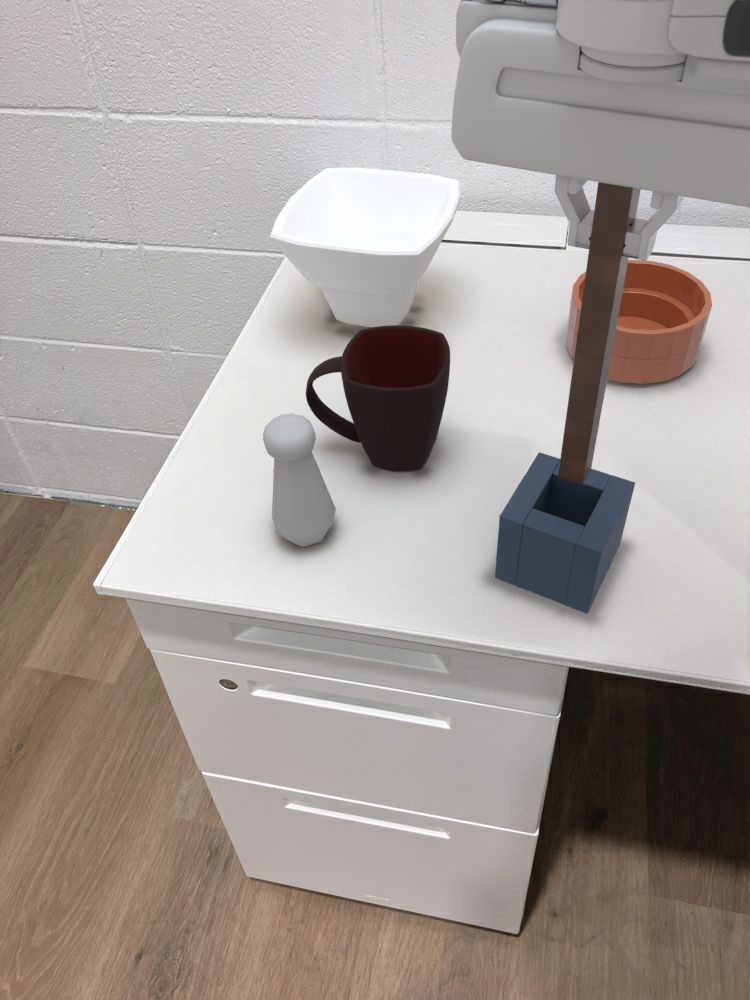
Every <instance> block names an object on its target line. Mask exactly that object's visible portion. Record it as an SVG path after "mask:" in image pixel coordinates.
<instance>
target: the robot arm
mask: <svg viewBox="0 0 750 1000" xmlns="http://www.w3.org/2000/svg"><path fill="white" fill-rule="evenodd" d="M455 15H456V16H455V45H456V49H457V50H456V51H457V53H458V56H459V63H458V69H457V74H456V81H455V88H454V94H453V102H452V104H453V105H452V114H451V115H452V118H451V132H450V133H451V135H450V136H451V142H452V144H453V146H454V147H455V149H456V151H457V152H458V154H459V156H460V157H461V158H462V159H463V160H466V161H469V162H470V161H471V162H477V163H483V164H489V165H494V166H500V167H507V168H511V169H517V170H522V171H523V170H525V171H529V172H536V173H542V174H548V175H553V176H555V180H554V181H555V182H554V194H555V196H556V198H557V200H558V202H559V204H560V206H561V208H562V211H563V213H564V215H565V218H566V219H567V221H569V225H568V226H569V227H568V236H567V246H569V247H573V248H579V249H584V250H589V246H590V239H591V232H592V225H593V217H594V210H595V209H591V207H590V204H589V201H588V199H587V196H586V192H585V191H584V188H583V187H584V186H585V185H586V183H587V182H588V181H590V182H595V183H598V182H601V183H607V184H613V185H619V186H625V187H631V188H636V189H641V191H642V190H643V191H649V192H652V193H651V199H650V204H649V207H650V208H651V209H653V210H655V211H654V212H653V214H652V215H651V216H649V218H648V219H643V218H637V217H636V218H635V219H634V221H633V222H632V224H631V226H630V227H629V228H628V230H627V231H626V235H625V241H624V244H625V246H624V248H623V252H622V256H624V257H629V258H628V259H633V260H644V261H648V259H649V258H650V256H651V254H652V252H653V250H654V247H655V244H656V239H657V234H658V231H659V230H660V229H661V228H662V226H664V225H665V224H666V222H667V221H668V220H669V219H670V218H671V217H672V216H673V215H674V214H675V212H676V211H677V209H678V207H679V206H680V205H681V203H682V201H683V200H684V198H690V199H696V200H703V201H709V202H714V203H721V204H725V205H732V206H738V207H744V208H748V209H749V208H750V0H460V2H459V4H458V6H457V9H456V14H455Z"/></svg>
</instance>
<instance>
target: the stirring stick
mask: <svg viewBox="0 0 750 1000" xmlns="http://www.w3.org/2000/svg"><path fill="white" fill-rule="evenodd" d="M641 191H642V189H636V188H631V187H625V186H619V185H613V184H607V183H601V182H597V188H596V197H595V203H594V209H593V210H594V217H593V225H592V232H591V239H590V246H589V249H588V255H587V261H586V268H585V272H586V276H585V283H584V290H583V298H582V305H581V312H580V319H579V327H578V334H577V341H576V349H575V356H574V359H573V363H572V364H573V365H572V372H571V378H570V386H569V393H568V399H567V407H566V415H565V416H566V417H565V422H564V429H563V438H562V444H561V451H560V458H559V459H560V465H559V473H558V478H561V479H564V480H567V481H570V482H574V483H577V484H580V485H583V483H584V481H585V480H586V478H587V476H588V474H589V472H590V470H591V469H592V467H593V461H594V455H595V449H596V445H597V439H598V433H599V427H600V422H601V415H602V410H603V404H604V398H605V394H606V393H605V392H606V388H607V382H608V379H607V377H608V371H609V365H610V360H611V354H612V349H613V343H614V337H615V332H616V326H617V320H618V315H619V309H620V303H621V298H622V292H623V286H624V281H625V275H626V270H627V264H628V260H629V259H630V258H629V257H624V256H622V252H623V248H624V246H625V244H624V241H625V235H626V231H627V230H628V228H629V227H630V226H631V224H632V222H633V221H634V219H635V218H636V219H637V213H638V207H639V201H640V196H641Z"/></svg>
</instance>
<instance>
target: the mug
mask: <svg viewBox="0 0 750 1000" xmlns="http://www.w3.org/2000/svg"><path fill="white" fill-rule="evenodd" d="M447 339H448V338H446V336H445V334H444V333H442V332H439V331H437V330H435V329H431V328H427V327H421V326H415V325H401V324H399V325H391V326H378V327H366V328H362V329H360V330H359V331H358V332H356V334H354V336H353V337H352V338H351V339H349V342H348V343H347V344H346V346H345V347H344V349H343V352H342V355H340V356H334V357H331V358H328V359H326V360H324V361H322V362H321V363H319V364H317V366H315V367H314V369H313V370H312V371H311V373H310V374H309V376H308V378H307V381H306V388H305V399H306V402H307V405H308V407H309V409H310V410H311V412H312V414H313V415H314V416H315V418H316V419H318V420H319V421H320V422H321V423H322V424H323V425H324V426H326V428H328V429H330V430H331V431H333V432H334V433H336V434H338V435H339V436H341V437H343V438H344V439H347V440H349V441H351V442H354V443H358V444H361V446H362V448H363V451H364V452H365V454H366V456H367V458H368V459H369V461H370V463H371V464H372V466H373V467H375V468H377V469H380V470H383V471H387V472H394V473H395V472H396V473H407V472H415V471H420V470H422V468H424V466H425V465H426V463H427V462H428V460H429V458H430V455H431V453H432V450H433V448H434V446H435V443H436V441H437V437H438V433H439V431H440V427H441V423H442V420H443V419H442V418H443V414H444V411H445V410H444V409H445V405H446V400H447V395H448V391H449V384H450V383H449V381H450V373H451V372H450V371H451V349H450V345H449V342H448V340H447ZM335 373H341V374H340V375H341V381H342V386H343V392H344V397H345V400H346V404H347V407H348V411H349V414H350V416H351V419H352V420H351V421H350V420H348V419H346V418H345V417H342V415H340V414H338V413H336V412H335V411H334V410H333V409H331V408H330V407H329V406H328V405H327V404H326V403H324V402H323V400H322V399H321V398H320V397H319V395H318V393H317V392H316V390H315V388H314V382H315V380H317V379H318V378H321V377H323V376H325V375H329V374H335Z"/></svg>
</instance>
